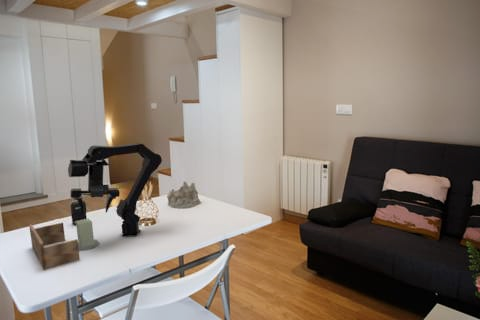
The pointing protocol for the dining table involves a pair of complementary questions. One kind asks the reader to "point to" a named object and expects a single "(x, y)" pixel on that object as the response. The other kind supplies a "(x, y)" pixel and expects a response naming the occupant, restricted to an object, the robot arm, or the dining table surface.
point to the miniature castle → (183, 197)
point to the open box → (53, 246)
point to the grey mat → (89, 246)
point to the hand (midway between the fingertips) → (94, 212)
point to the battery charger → (77, 211)
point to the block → (85, 233)
